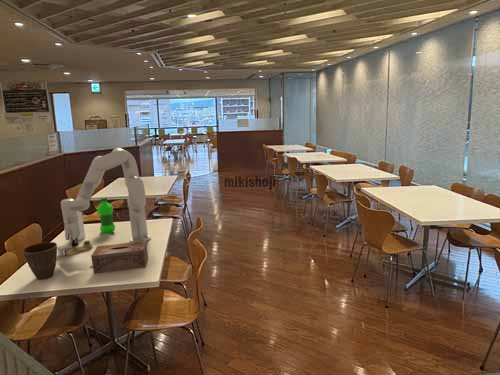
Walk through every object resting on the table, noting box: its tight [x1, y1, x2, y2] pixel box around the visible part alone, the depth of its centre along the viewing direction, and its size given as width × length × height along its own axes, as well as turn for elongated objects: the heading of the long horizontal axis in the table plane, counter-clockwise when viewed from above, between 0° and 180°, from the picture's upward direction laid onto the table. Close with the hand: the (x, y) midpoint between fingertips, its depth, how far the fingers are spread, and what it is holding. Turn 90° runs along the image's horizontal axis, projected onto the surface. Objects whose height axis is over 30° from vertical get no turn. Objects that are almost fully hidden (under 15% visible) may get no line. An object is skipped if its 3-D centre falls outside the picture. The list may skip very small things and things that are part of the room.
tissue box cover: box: [90, 241, 149, 275], centre depth 196 cm, size 26×14×10 cm, turn 101°
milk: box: [77, 211, 86, 241], centre depth 239 cm, size 6×6×22 cm
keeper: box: [57, 243, 71, 258], centre depth 212 cm, size 5×6×6 cm
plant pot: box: [22, 241, 58, 281], centre depth 186 cm, size 15×15×16 cm
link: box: [63, 240, 93, 257], centre depth 217 cm, size 16×5×4 cm, turn 140°
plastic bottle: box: [96, 196, 116, 235], centre depth 250 cm, size 10×10×25 cm
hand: (75, 249), depth 220 cm, fingers closed
